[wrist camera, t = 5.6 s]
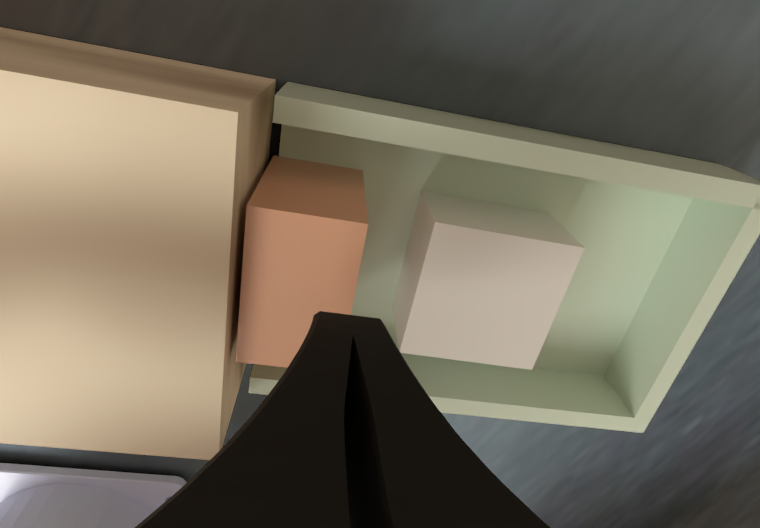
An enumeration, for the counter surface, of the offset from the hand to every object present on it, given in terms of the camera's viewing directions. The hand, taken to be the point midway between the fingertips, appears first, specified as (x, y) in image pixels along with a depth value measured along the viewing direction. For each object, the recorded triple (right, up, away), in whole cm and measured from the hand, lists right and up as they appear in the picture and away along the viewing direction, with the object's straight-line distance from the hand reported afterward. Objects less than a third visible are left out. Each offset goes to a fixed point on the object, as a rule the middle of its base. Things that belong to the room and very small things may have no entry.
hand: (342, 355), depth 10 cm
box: (+4, +2, +6) cm, 7 cm away
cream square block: (+4, +1, +3) cm, 5 cm away
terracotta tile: (-2, +2, +3) cm, 4 cm away
